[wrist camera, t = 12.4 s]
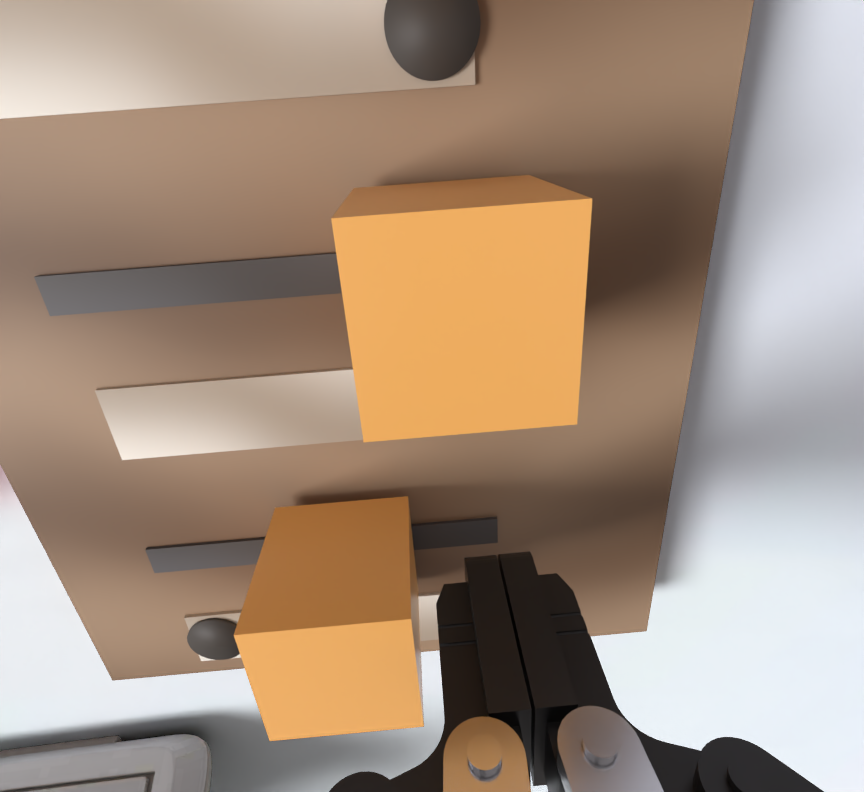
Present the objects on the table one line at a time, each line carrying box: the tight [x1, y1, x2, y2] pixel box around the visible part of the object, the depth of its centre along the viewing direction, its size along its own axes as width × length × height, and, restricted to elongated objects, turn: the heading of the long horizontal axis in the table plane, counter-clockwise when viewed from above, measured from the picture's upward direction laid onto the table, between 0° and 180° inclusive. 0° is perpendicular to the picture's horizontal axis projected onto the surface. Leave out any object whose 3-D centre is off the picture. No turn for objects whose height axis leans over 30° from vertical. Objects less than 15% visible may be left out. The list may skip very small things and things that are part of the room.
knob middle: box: [331, 175, 592, 442], centre depth 9 cm, size 3×3×4 cm
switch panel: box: [0, 0, 754, 680], centre depth 11 cm, size 23×16×2 cm
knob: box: [234, 496, 424, 741], centre depth 12 cm, size 3×3×4 cm
